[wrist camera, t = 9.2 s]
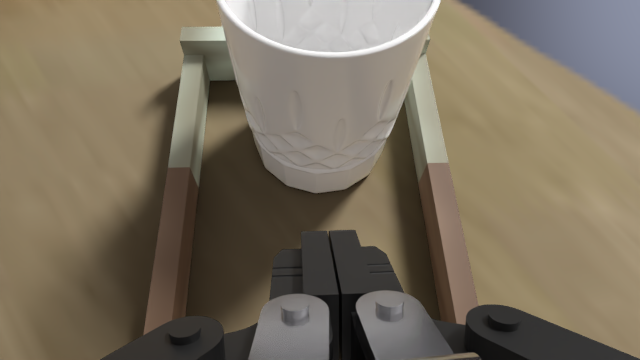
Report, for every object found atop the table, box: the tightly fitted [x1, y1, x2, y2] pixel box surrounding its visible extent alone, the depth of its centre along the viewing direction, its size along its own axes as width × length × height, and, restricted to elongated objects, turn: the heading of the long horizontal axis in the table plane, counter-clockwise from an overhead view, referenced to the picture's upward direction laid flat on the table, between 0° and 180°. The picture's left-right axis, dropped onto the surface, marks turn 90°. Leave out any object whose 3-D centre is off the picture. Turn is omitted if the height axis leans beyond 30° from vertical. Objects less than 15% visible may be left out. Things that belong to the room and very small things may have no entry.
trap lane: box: [143, 27, 478, 335], centre depth 20 cm, size 13×24×3 cm, turn 2°
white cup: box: [216, 0, 441, 193], centre depth 20 cm, size 8×8×10 cm
